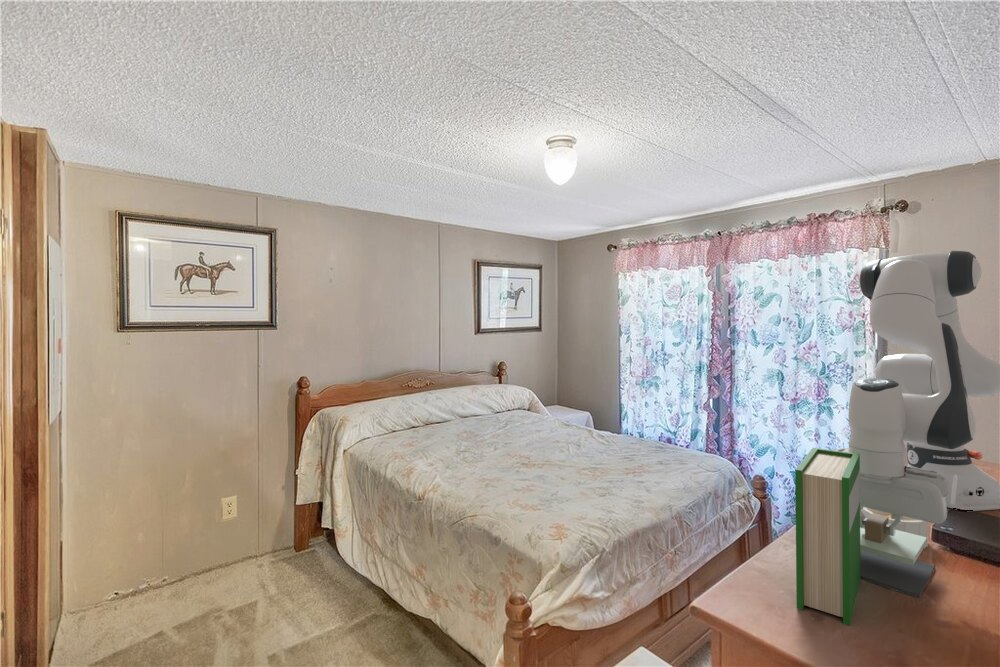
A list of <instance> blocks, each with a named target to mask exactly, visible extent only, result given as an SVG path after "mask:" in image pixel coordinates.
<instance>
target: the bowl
mask: <svg viewBox="0 0 1000 667" xmlns="http://www.w3.org/2000/svg"><path fill="white" fill-rule="evenodd" d="M861 511H862V513H863V514H864V516H865V518H869V517H870V516H871V515H872V514H873V513H875V514H879V515H883V516H890V515H891V513H887V512H883V511H878V510H874V509H869V508H865V507H863V509H862V510H861ZM894 520H895V519H891V518H889V524H892V522H893V521H894ZM895 530H899V531H903V532H907V533H911V534H915V535H919V536H923V537H927V538H928V522H926V521H922V520H917V519H913V518H909V517H904V516H903V518H902V519H901V521H900V522H899V523H898V524H897V525H896V526H895ZM925 547H927V548H928V542H927V543H926V545H925ZM925 547H924V549H926V548H925Z"/></svg>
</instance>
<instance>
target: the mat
mask: <svg viewBox="0 0 1000 667" xmlns="http://www.w3.org/2000/svg"><path fill="white" fill-rule="evenodd" d="M935 569H936V565H934V564H931V563H928V562H923V561H920V560H918V559H917V560H916V562H915V563H914V565H910V564H907V563H903V562H900V561H896V560H893V559H889V558H886V557H883V556H879V555H876V554H872V553H869V552H865V551H862V550H860V576H861V580H862V581H866V582H870V583H872V584H875V585H878V586H881V587H885V588H888V589H890V590H893V591H897V592H900V593H903V594H906V595H908V596H911V597H915V598H918V599H920V598H921V596H922V594H923V592H924V591H925V588H926V587H927V585H928V582H929V581H930V578H931V576H932V575H933V573H934V571H935Z"/></svg>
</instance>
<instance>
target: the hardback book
mask: <svg viewBox="0 0 1000 667" xmlns="http://www.w3.org/2000/svg"><path fill="white" fill-rule="evenodd" d="M794 471H795V472H794V476H795V477H794V478H795V480H794V484H795V485H794V486H795V489H794V491H795V563H796V564H795V570H796V571H795V572H796V574H795V578H796V581H795V583H796V587H795V588H796V609H797V608H798V609H797V610H801V611H804V610H805V606H807V607H809V608H812V609H816V610H819V611H822V612H825V613H828V614H831V615H834V616H837V617H841V618H842V623H843V625H846V626H849V627H850V626H851V623H852V618H853V616H854V611H855V605H856V601H857V598H858V593H859V588H860V584H861V580H862V579H861V576H860V454H857V453H849V452H842V451H834V449H825V448H819V447H812V448H811V449H810V450H809V452H808V453H807V454H806V456H805V457H804V458H803V459H802V461H801V462H800V463H799V464H798V466H797V467H796V468H795V470H794Z"/></svg>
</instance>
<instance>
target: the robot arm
mask: <svg viewBox="0 0 1000 667" xmlns="http://www.w3.org/2000/svg"><path fill="white" fill-rule="evenodd" d="M860 270H861V271H860V274H859V278H858V283H859V284H858V285H859V288H860V289H861V290H860V292H861V294H862V295H863V296H864V297H865V298H867V299H869V300H871V301H870V302H871V303H870V308H869V309H870V311H869V323H870V326H871V328H872V329H873V332H874V333H876V334H877V335H878V336H879V337H880V338H882V339H884V340H885V341H887V342H889V343H891V344H893V345H896V346H899V347H903V348H906V349H909V350H912V351H916V352H917V353H897V354H891V355H889V354H888V355H884V356H883V357H882V358H881V359H880V360H879V361H877V363H876V366H875V370H874V372H875V373H874V374H875V377H872V378H871V377H869V378H862V379H859V380H856V381H854V382H853V384H852V387H851V390H850V396H849V404H848V425H849V428H850V438H848V439H849V440H848V447H844V448H835V449H834V448H833V450H834V451H842V452H849V453H857V454H860V528H863V529H865V521H866V520H867V519H868V518H865V516H864V514H863V513H862V509H863V507H865V508H869V509H874V510H878V511H883V512H887V513H891V519H895V520H894V521H893V522H892V524H888V523H886V524H885V525H884V534H887V535H890V536H894V535H895V526H896V525H897V524H898V523H899V522H900V521H901V519H902V518H903V516H904V517H909V518H913V519H917V520H922V521H926V522H927V523H932V524H936V525H941V524H942V523H944V522H945V521H946V520H947V517H948V509H947V508H950V509H953V508H964V509H969V510H973V511H972V512H978V511H991V510H994V511H995V510H1000V483H999V481H998V480H997V479H996V478H994V477H993V476H991V475H990V474H989V473H987V472H985V471H984V470H982V469H981V468H980V467H978V466H977V465H975V464H974V463H973V461H972V459H974V460H978V461H979V460H982V459H983V453H981V452H980V451H975V450H970V451H969V449H967V448H965V445H967V444H969V443H970V442H972V441H973V440H974V437H975V435H976V430H977V424H976V422H977V421H976V418H975V414H974V411H973V409H972V406H971V404H970V402H969V399H968V398H984V397H985V398H987V397H993V396H995V395H997V394H998V393H1000V363H999V362H998V361H997V360H995V359H994V358H991V357H990V356H986V354H983V353H981V352H980V351H979V350H977V349H976V348H975V347H973V345H971V344H970V342H968V340H967V339H966V338H965V336H964V334H963V331H962V328H961V323H960V316H959V309H958V307H959V306H958V301H957V297H961V296H964V295H968V294H970V293H972V292H973V291H974V290H976V288H977V285H978V284H979V282H980V280H981V277H982V268H981V264H980V263H979V261H978V259H977V257H976V255H975V254H974V253H972V252H971V251H966V250H951V251H949V252H947V251H944V252H943V251H940V252H939V251H938V252H922V253H921V252H920V253H914V254H907V255H903V256H895V257H890V258H885V259H883V258H879V259H875V260H872V261H869V262H867V263H866V264H865V265H864V266H862V268H861V269H860ZM904 441H905V442H906V444H905V443H904Z"/></svg>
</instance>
